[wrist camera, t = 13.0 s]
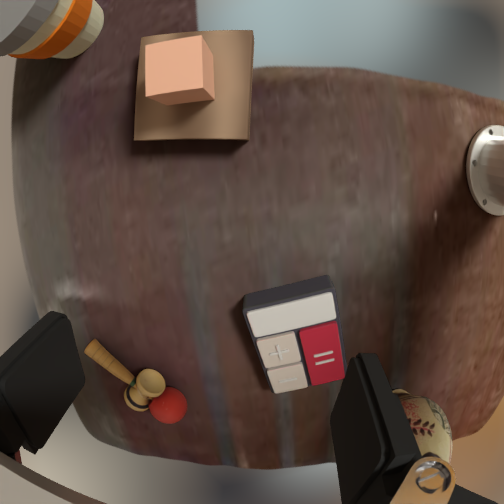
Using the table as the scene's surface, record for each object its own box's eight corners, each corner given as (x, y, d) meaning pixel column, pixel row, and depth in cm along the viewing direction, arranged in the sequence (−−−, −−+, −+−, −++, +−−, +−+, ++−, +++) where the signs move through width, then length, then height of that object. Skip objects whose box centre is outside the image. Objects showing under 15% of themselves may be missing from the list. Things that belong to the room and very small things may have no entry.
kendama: (90, 354, 45) (175, 419, 46) (71, 368, 39) (165, 441, 39) (109, 322, 44) (200, 392, 45) (89, 335, 38) (191, 414, 38)
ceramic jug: (412, 429, 47) (456, 552, 19) (339, 437, 47) (363, 581, 19) (445, 363, 42) (526, 501, 13) (363, 370, 42) (420, 551, 14)
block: (212, 55, 27) (201, 35, 21) (214, 99, 28) (203, 87, 22) (165, 62, 27) (145, 45, 21) (166, 105, 28) (145, 96, 23)
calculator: (272, 398, 40) (240, 312, 35) (271, 377, 44) (242, 294, 39) (349, 380, 39) (336, 289, 33) (343, 361, 43) (329, 273, 37)
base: (254, 42, 29) (252, 30, 26) (249, 140, 33) (247, 139, 29) (153, 47, 30) (141, 37, 26) (147, 140, 33) (134, 140, 30)
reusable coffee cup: (102, 68, 30) (26, 40, 16) (33, 74, 30) (-42, 62, 16) (127, -14, 26) (71, -65, 12) (56, -1, 26) (-6, -31, 12)
